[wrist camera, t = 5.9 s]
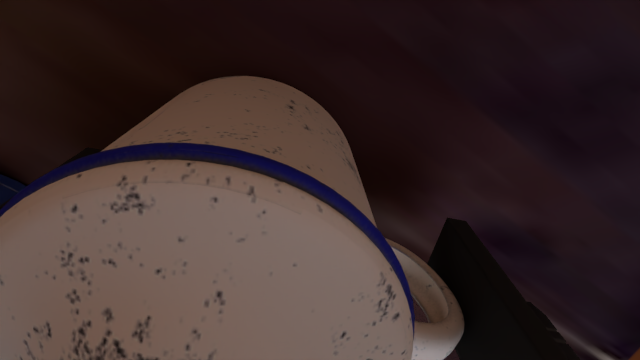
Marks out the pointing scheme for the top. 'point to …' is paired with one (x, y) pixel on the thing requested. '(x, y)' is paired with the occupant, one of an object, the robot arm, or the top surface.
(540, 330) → the robot arm
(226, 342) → the teacup with lid
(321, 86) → the top surface
